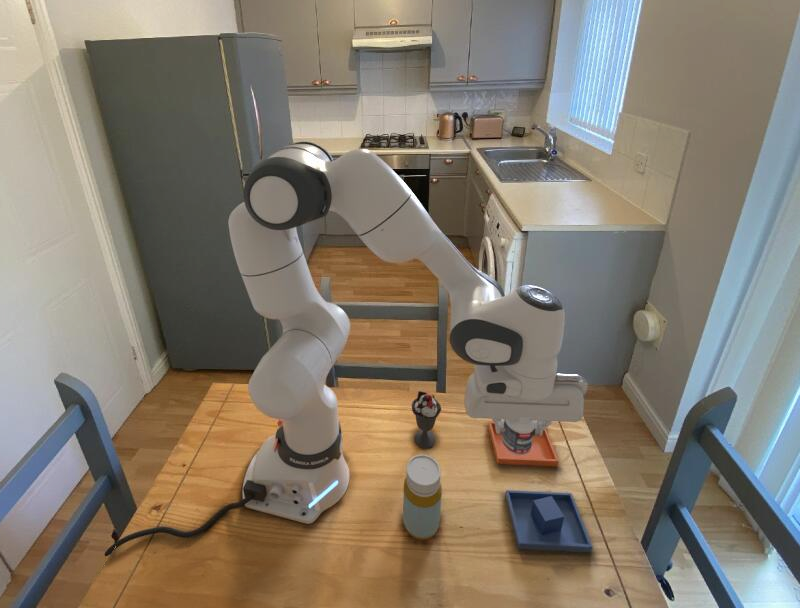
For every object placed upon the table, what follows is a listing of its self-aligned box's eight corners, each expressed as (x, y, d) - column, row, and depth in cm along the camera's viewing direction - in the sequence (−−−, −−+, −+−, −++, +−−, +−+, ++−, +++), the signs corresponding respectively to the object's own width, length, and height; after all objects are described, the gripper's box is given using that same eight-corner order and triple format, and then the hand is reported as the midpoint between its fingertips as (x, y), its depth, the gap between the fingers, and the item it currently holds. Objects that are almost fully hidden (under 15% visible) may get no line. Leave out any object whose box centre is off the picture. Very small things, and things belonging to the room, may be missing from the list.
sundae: (436, 454, 95) (439, 405, 89) (407, 446, 97) (409, 397, 91) (441, 431, 101) (444, 383, 95) (414, 424, 103) (415, 376, 97)
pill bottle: (515, 461, 76) (521, 425, 72) (495, 439, 80) (500, 404, 77) (537, 449, 78) (543, 413, 74) (516, 428, 82) (521, 393, 79)
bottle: (438, 545, 78) (442, 491, 72) (400, 537, 79) (401, 483, 73) (439, 508, 84) (443, 455, 78) (405, 501, 86) (406, 449, 80)
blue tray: (517, 550, 77) (519, 543, 76) (504, 496, 86) (505, 489, 85) (590, 554, 76) (592, 547, 75) (569, 499, 85) (571, 492, 85)
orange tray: (497, 465, 93) (498, 458, 92) (487, 427, 102) (488, 421, 101) (557, 467, 92) (558, 461, 91) (542, 429, 101) (543, 423, 100)
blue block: (542, 535, 79) (545, 521, 77) (530, 513, 82) (533, 500, 81) (561, 530, 79) (564, 516, 78) (548, 509, 83) (551, 495, 82)
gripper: (582, 362, 75) (569, 420, 80) (465, 359, 76) (460, 415, 81) (597, 389, 69) (582, 449, 74) (471, 385, 70) (465, 444, 76)
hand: (517, 431), depth 78 cm, fingers closed on pill bottle, 5 cm apart
